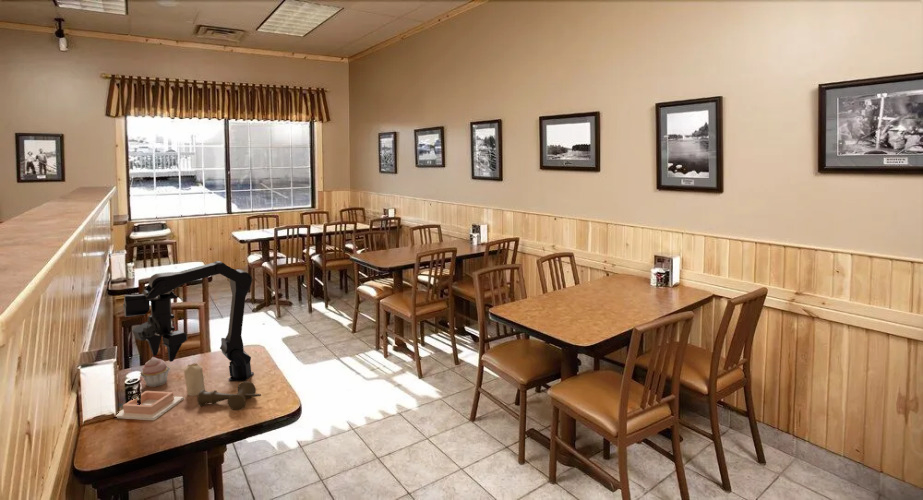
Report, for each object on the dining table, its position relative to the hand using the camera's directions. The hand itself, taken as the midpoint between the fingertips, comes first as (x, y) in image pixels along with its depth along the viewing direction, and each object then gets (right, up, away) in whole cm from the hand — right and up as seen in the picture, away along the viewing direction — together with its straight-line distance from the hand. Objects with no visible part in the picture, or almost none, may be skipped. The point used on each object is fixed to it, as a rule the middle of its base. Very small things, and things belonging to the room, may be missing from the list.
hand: (163, 358), depth 175 cm
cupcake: (-10, -12, +14) cm, 21 cm away
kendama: (+24, -15, -2) cm, 28 cm away
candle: (+8, -13, +6) cm, 17 cm away
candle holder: (-2, -15, -4) cm, 16 cm away
